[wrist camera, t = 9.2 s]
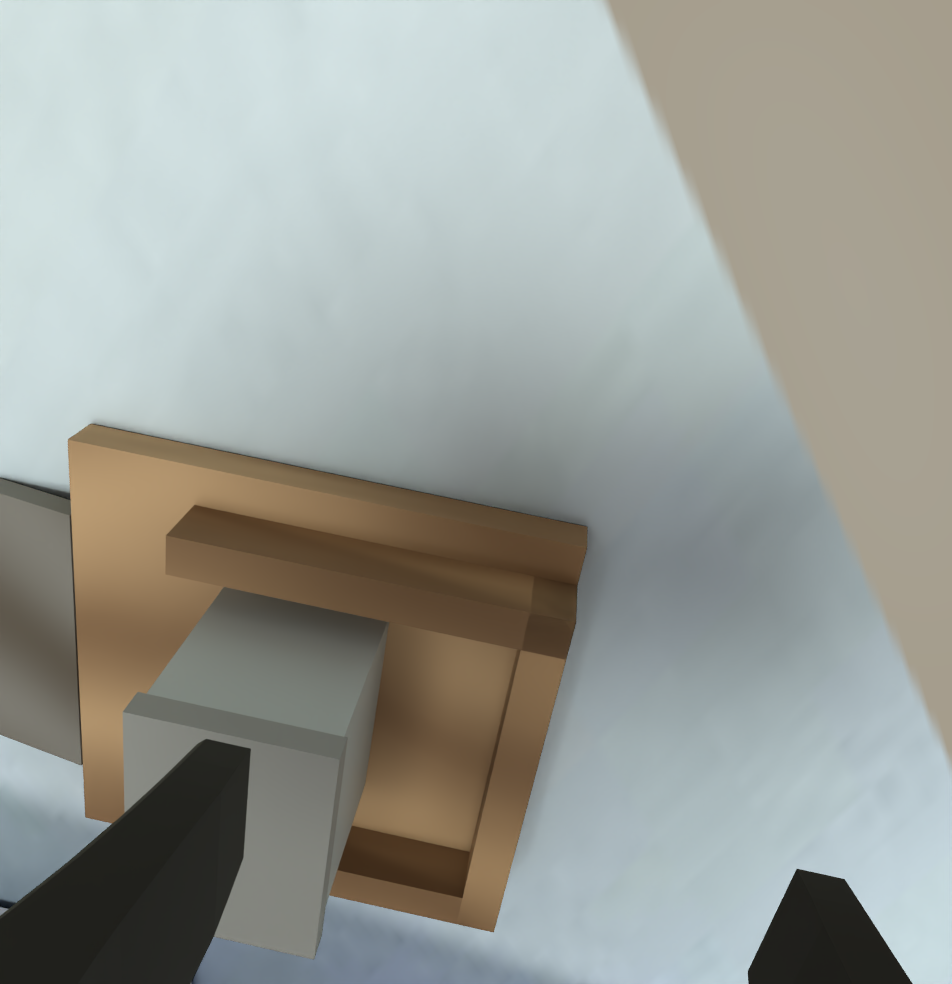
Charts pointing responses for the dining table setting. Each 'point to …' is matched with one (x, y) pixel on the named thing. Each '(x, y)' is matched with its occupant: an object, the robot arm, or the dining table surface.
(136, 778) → the grey lidded box
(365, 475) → the dining table surface
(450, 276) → the dining table surface
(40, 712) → the dock
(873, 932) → the robot arm
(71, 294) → the dining table surface
